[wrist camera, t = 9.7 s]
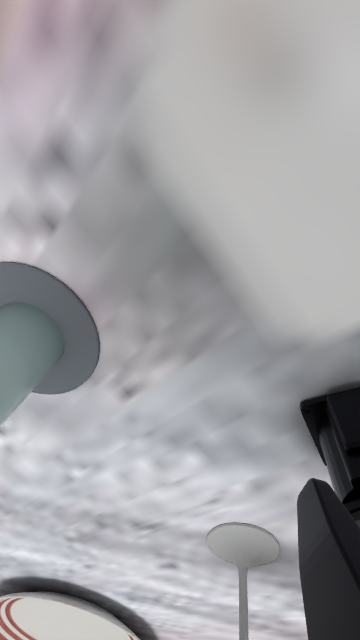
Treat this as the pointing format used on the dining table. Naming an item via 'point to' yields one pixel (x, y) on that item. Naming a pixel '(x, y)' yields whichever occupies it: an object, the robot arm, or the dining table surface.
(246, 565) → the wineglass
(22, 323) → the pale green rounded piece
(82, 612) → the dinner plate
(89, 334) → the grey flat disc
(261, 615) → the dining table surface
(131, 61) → the dining table surface
